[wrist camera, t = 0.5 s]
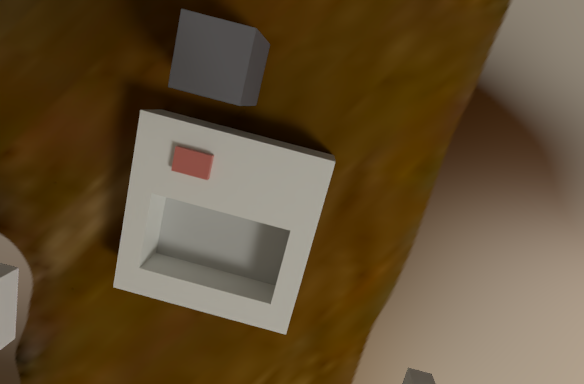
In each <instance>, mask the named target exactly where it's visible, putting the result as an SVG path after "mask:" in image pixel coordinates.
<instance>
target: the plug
mask: <svg viewBox="0 0 584 384" xmlns="http://www.w3.org/2000/svg"><path fill="white" fill-rule="evenodd" d="M269 47H270V44H269V42H268V41H267V40H266V39H265V38H264V37H263V35H262V34H261V33H260V32H259V31H258V29H257V28H254V27H250V26H246V25H242V24H239V23H235V22H231V21H227V20H223V19H219V18H216V17H212V16H208V15H204V14H200V13H196V12H193V11H189V10H185V9H181V13H180V19H179V25H178V31H177V37H176V43H175V48H174V54H173V60H172V66H171V72H170V78H169V84H168V87H170V88H174V89H178V90H181V91H185V92H189V93H193V94H196V95H200V96H204V97H208V98H212V99H215V100H219V101H223V102H227V103H230V104H234V105H238V106H256V104H257V100H258V95H259V91H260V87H261V82H262V78H263V73H264V69H265V64H266V60H267V56H268V51H269Z"/></svg>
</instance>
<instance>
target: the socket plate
mask: <svg viewBox="0 0 584 384" xmlns="http://www.w3.org/2000/svg"><path fill="white" fill-rule="evenodd" d="M334 165H335V158H334V155H331V154H328V153H324V152H320V151H316V150H312V149H309V148H305V147H301V146H297V145H294V144H290V143H286V142H282V141H279V140H275V139H271V138H267V137H264V136H260V135H256V134H252V133H249V132H245V131H241V130H237V129H234V128H230V127H226V126H222V125H218V124H215V123H211V122H207V121H203V120H200V119H196V118H192V117H188V116H185V115H181V114H177V113H173V112H170V111H166V110H162V109H154V110H140V116H139V122H138V129H137V135H136V142H135V148H134V155H133V161H132V168H131V174H130V181H129V187H128V194H127V200H126V207H125V214H124V220H123V227H122V233H121V240H120V246H119V253H118V259H117V266H116V272H115V279H114V285H113V287H115V288H118V289H122V290H126V291H129V292H133V293H136V294H140V295H144V296H147V297H151V298H155V299H158V300H162V301H166V302H169V303H173V304H176V305H180V306H184V307H187V308H191V309H195V310H198V311H202V312H205V313H209V314H213V315H216V316H220V317H224V318H227V319H231V320H235V321H238V322H242V323H245V324H249V325H253V326H256V327H260V328H264V329H267V330H271V331H275V332H278V333H282V334H285V335H286V332H287V329H288V325H289V322H290V318H291V315H292V311H293V308H294V305H295V301H296V298H297V294H298V291H299V287H300V284H301V280H302V277H303V273H304V270H305V266H306V263H307V259H308V256H309V252H310V249H311V245H312V242H313V238H314V235H315V231H316V228H317V224H318V221H319V217H320V214H321V210H322V207H323V204H324V200H325V197H326V193H327V190H328V186H329V183H330V179H331V176H332V172H333V169H334Z"/></svg>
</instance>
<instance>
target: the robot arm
mask: <svg viewBox="0 0 584 384" xmlns="http://www.w3.org/2000/svg"><path fill="white" fill-rule="evenodd" d="M18 272H19V268H18V267H14V266H10V265H6V264H2V263H0V350H1V349H2V348H3V347H4V346H6V345H7V344H8V343H10V342H11V341H12V340H14V339H15V330H16V311H17V290H18ZM402 384H435V381H434V379H433V376H432V374H430V373H426V372H422V371H419V370H415V369H411V368H408V370H407V372H406V375H405V378H404V381H403V383H402Z"/></svg>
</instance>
